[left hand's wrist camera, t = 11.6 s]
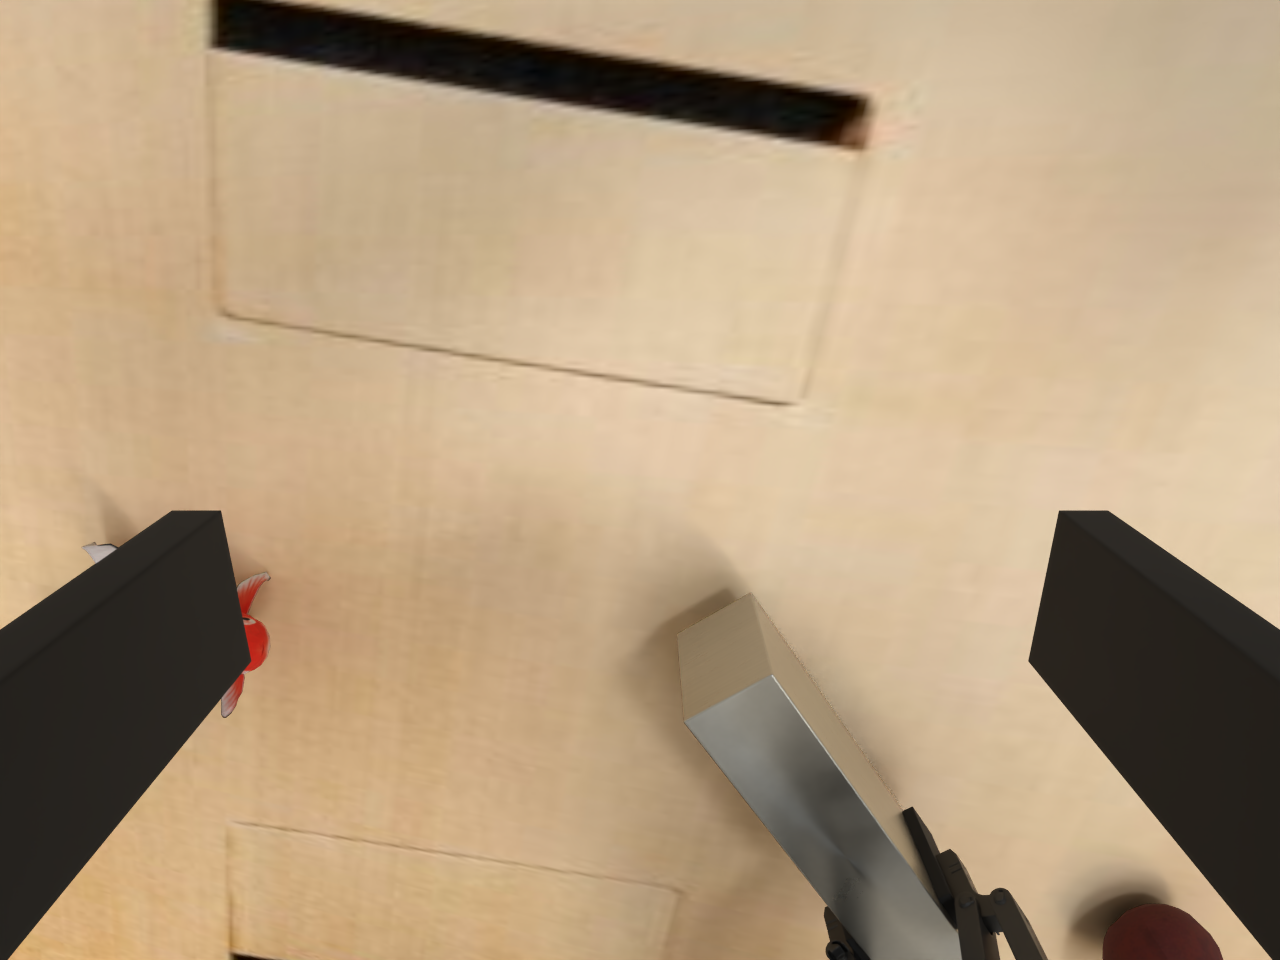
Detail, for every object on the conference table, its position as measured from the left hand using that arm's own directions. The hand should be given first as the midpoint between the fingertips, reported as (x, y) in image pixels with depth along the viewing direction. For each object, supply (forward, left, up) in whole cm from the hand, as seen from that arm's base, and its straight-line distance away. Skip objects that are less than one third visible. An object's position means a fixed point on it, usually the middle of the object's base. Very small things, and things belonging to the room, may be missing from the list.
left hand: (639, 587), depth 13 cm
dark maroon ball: (+6, +57, -31) cm, 65 cm away
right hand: (+13, +35, -28) cm, 47 cm away
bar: (+11, +27, -29) cm, 41 cm away
